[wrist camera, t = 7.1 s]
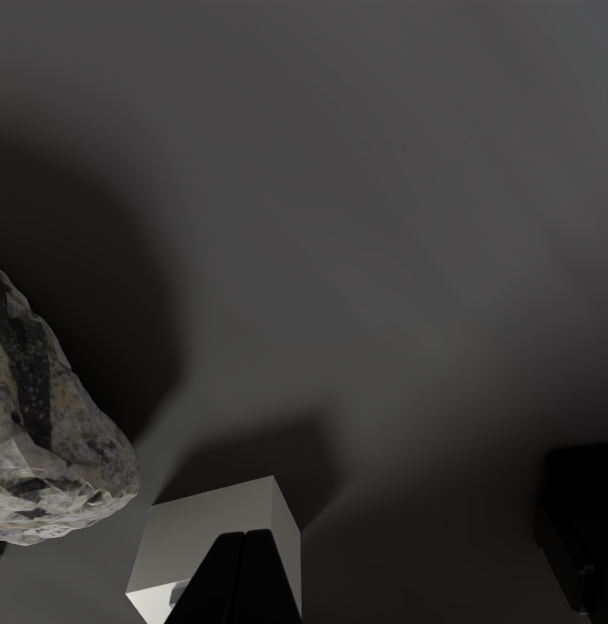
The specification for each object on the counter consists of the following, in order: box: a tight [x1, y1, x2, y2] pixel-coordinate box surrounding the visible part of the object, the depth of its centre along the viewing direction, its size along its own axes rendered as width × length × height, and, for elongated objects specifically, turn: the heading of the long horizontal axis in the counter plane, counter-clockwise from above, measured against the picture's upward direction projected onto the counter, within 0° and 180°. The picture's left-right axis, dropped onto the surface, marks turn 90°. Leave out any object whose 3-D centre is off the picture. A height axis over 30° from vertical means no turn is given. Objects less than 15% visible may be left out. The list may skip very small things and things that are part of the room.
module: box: [126, 475, 302, 624], centre depth 23 cm, size 6×4×5 cm, turn 108°
